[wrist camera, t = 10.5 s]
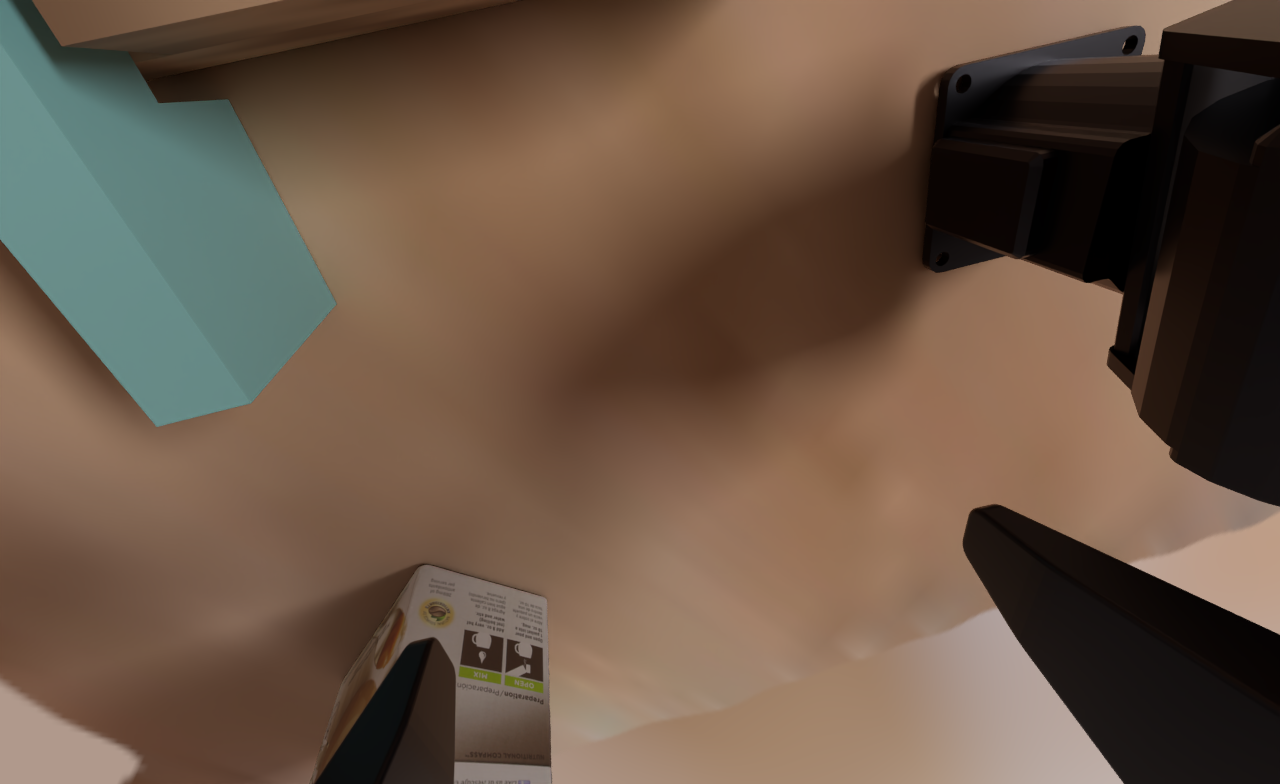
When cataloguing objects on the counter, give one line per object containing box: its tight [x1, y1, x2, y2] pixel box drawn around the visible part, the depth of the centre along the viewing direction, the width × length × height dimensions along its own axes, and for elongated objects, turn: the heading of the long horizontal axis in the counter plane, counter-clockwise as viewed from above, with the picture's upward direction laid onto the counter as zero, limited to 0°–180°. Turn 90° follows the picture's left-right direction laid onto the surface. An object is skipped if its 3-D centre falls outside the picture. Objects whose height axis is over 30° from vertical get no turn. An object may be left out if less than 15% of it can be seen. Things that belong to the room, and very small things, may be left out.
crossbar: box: [0, 0, 336, 427], centre depth 10 cm, size 15×2×6 cm, turn 11°
